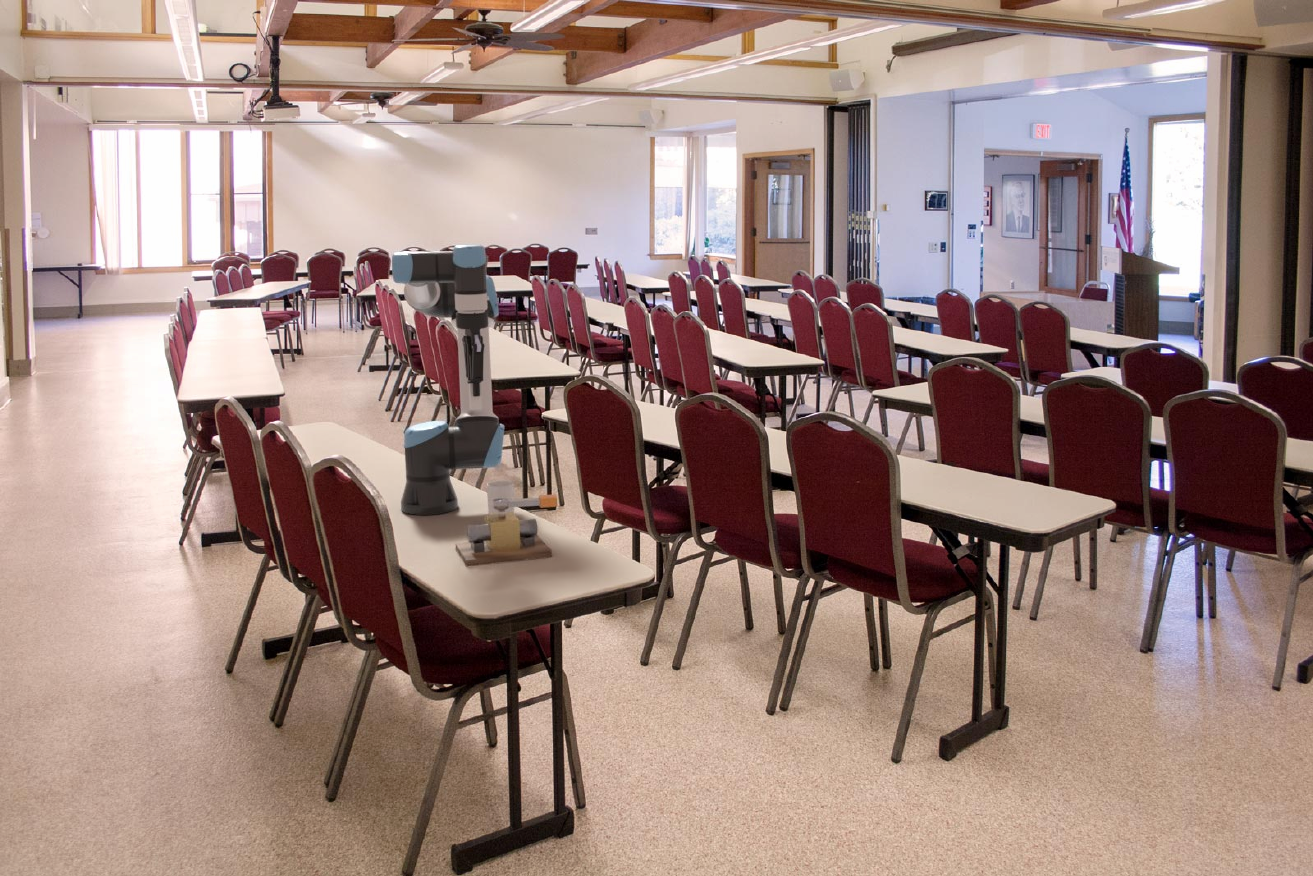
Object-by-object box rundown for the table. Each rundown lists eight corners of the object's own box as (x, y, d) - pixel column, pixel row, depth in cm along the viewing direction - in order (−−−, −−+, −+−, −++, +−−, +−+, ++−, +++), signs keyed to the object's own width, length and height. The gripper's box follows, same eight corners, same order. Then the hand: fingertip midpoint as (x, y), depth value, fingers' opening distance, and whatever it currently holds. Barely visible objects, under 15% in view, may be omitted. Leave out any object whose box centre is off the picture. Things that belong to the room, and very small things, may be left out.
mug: (517, 531, 284) (516, 485, 281) (491, 534, 281) (489, 488, 279) (509, 521, 293) (508, 476, 290) (484, 524, 291) (482, 478, 288)
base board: (455, 549, 270) (455, 543, 269) (537, 540, 276) (537, 534, 276) (466, 566, 257) (466, 560, 256) (551, 556, 263) (551, 550, 263)
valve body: (466, 546, 267) (464, 508, 265) (532, 539, 272) (531, 502, 270) (472, 554, 260) (470, 516, 258) (539, 547, 266) (538, 509, 264)
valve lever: (494, 511, 262) (493, 501, 262) (493, 507, 266) (492, 498, 265) (557, 506, 265) (557, 497, 265) (555, 503, 269) (555, 494, 268)
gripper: (493, 313, 262) (497, 412, 267) (481, 307, 274) (484, 402, 279) (461, 315, 259) (466, 415, 265) (450, 308, 271) (454, 405, 276)
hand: (475, 408), depth 272 cm, fingers closed
